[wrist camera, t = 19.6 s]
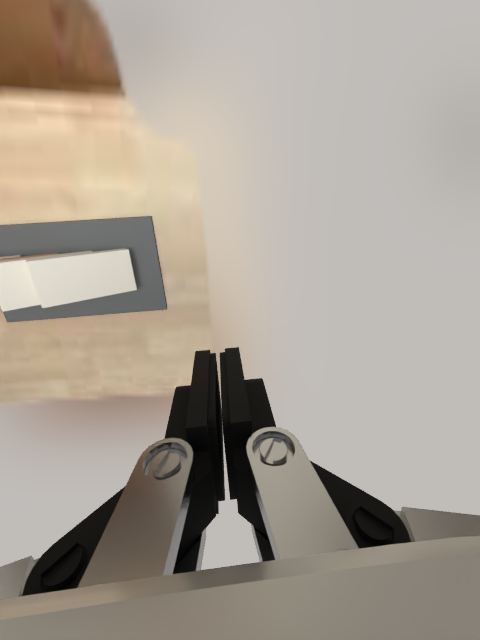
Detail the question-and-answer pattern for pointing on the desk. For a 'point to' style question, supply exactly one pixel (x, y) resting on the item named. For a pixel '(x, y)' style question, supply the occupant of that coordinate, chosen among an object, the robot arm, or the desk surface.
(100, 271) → the ivory domino
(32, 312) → the charcoal mat
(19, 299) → the ivory domino
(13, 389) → the desk surface
